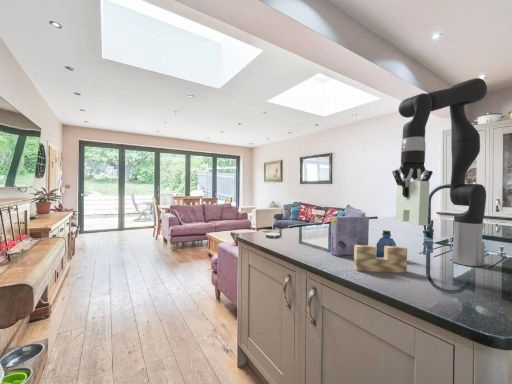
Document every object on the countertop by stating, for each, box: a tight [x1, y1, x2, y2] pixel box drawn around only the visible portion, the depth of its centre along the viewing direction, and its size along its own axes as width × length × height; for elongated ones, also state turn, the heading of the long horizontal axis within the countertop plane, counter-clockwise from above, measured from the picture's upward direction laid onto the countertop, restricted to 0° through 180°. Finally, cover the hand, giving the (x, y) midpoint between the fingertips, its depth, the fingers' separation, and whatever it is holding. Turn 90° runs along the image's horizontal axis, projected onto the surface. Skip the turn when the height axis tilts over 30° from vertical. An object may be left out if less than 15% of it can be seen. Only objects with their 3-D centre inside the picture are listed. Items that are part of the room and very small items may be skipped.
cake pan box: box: [330, 215, 370, 257], centre depth 118 cm, size 19×5×18 cm, turn 108°
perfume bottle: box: [376, 230, 397, 258], centre depth 112 cm, size 6×6×12 cm
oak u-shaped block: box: [353, 244, 408, 274], centre depth 95 cm, size 18×3×9 cm, turn 86°
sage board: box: [395, 180, 431, 226], centre depth 93 cm, size 3×16×15 cm, turn 176°
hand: (411, 197), depth 93 cm, fingers closed on sage board, 3 cm apart
